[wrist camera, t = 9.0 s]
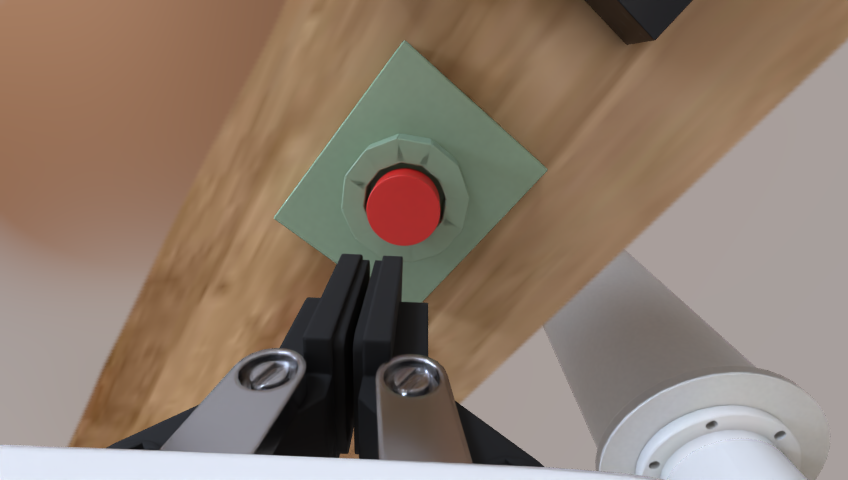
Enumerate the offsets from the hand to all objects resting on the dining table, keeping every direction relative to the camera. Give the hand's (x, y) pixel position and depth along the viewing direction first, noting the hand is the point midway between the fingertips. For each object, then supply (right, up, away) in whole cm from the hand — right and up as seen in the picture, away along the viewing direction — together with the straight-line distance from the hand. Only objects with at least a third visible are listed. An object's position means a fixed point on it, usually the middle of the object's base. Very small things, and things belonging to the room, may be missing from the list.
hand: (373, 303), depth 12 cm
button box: (0, +5, +13) cm, 14 cm away
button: (0, +4, +10) cm, 11 cm away
